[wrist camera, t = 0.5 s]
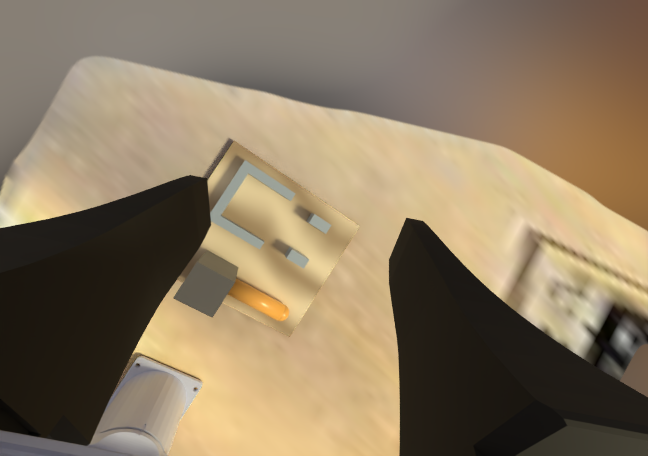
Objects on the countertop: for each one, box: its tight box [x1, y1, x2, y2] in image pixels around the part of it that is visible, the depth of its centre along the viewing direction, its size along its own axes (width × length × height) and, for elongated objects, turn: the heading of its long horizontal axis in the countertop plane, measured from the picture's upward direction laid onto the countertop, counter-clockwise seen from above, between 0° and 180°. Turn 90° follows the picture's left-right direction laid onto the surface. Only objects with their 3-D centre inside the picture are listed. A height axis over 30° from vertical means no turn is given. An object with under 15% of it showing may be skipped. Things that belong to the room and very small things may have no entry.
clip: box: [285, 213, 331, 269], centre depth 34 cm, size 6×2×2 cm, turn 147°
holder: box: [210, 160, 295, 250], centre depth 33 cm, size 8×7×1 cm
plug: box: [174, 250, 289, 321], centre depth 31 cm, size 4×12×6 cm, turn 57°
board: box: [177, 141, 360, 337], centre depth 34 cm, size 16×18×1 cm
